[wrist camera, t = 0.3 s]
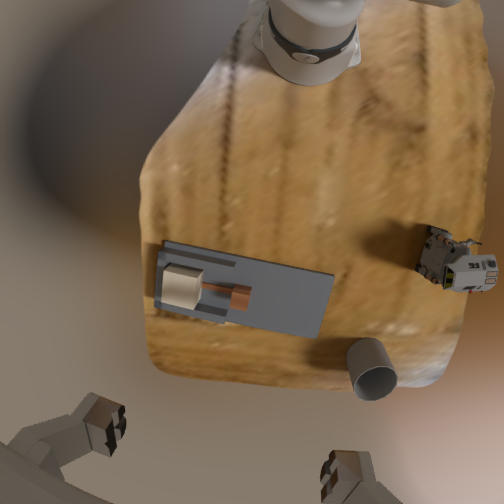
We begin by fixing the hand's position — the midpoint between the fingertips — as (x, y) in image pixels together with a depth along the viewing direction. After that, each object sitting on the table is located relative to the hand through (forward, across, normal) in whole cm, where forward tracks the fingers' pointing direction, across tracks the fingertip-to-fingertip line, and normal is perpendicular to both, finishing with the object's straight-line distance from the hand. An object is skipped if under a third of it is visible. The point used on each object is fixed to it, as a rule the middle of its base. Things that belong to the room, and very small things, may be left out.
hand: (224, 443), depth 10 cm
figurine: (+47, -32, -2) cm, 57 cm away
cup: (+47, -24, +22) cm, 57 cm away
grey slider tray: (+46, +3, +13) cm, 48 cm away
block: (+45, +9, +13) cm, 48 cm away
